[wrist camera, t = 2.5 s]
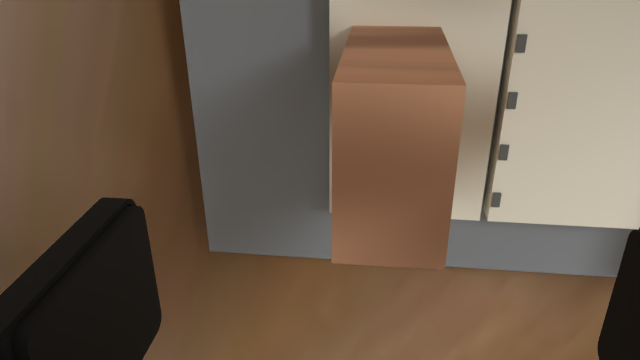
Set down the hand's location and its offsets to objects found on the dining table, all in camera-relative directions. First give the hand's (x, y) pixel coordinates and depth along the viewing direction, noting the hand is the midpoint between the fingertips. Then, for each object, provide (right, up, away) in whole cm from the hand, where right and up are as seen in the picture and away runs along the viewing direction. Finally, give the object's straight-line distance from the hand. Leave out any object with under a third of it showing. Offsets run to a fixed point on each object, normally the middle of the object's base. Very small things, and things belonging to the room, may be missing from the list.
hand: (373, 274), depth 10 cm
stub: (+2, +5, +9) cm, 11 cm away
